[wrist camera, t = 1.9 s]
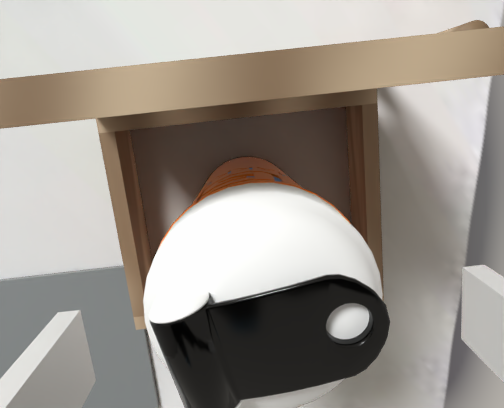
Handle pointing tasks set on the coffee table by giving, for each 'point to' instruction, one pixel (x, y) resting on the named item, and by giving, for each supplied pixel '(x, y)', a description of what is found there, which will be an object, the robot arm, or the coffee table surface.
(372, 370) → the coffee table surface
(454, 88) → the coffee table surface
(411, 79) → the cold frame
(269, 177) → the shaker bottle
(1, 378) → the robot arm
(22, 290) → the slate coaster
